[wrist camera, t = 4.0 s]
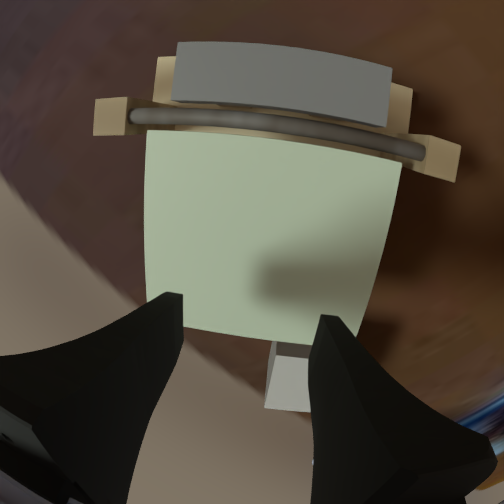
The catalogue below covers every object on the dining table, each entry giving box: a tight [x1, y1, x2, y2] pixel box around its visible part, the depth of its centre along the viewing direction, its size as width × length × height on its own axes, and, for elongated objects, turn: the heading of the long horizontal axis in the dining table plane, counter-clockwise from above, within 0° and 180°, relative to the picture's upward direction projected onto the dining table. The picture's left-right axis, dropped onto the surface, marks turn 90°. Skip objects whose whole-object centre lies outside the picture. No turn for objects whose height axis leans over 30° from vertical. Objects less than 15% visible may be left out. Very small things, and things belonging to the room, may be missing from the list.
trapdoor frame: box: [93, 56, 461, 183], centre depth 13 cm, size 5×15×7 cm, turn 84°
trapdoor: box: [144, 42, 402, 345], centre depth 12 cm, size 12×10×1 cm
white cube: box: [264, 340, 312, 412], centre depth 20 cm, size 5×5×5 cm
